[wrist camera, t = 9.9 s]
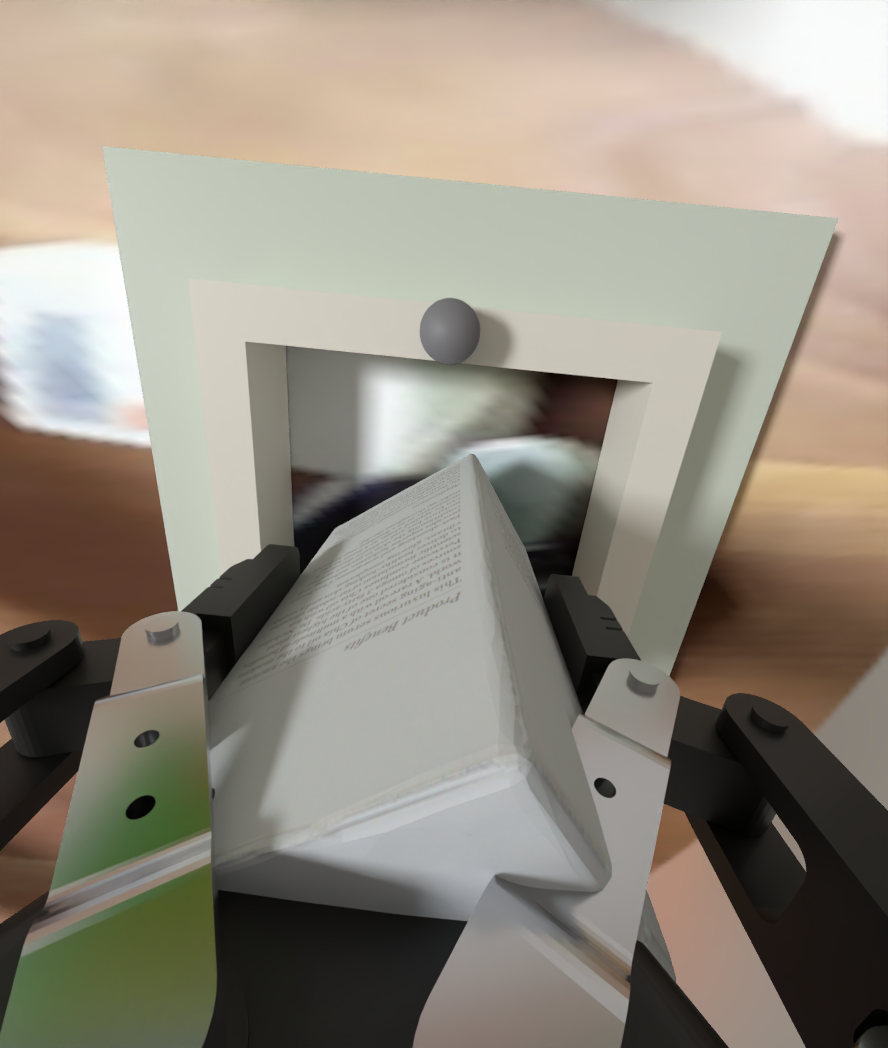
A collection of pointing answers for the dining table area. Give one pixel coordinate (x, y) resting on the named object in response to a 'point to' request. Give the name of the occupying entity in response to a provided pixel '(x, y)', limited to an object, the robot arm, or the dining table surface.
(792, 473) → the dining table surface
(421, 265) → the plate
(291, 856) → the skincare box
